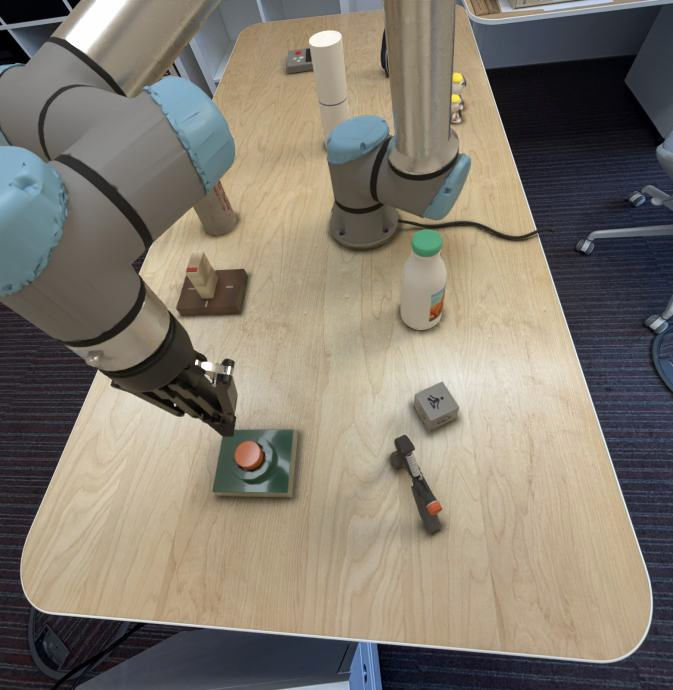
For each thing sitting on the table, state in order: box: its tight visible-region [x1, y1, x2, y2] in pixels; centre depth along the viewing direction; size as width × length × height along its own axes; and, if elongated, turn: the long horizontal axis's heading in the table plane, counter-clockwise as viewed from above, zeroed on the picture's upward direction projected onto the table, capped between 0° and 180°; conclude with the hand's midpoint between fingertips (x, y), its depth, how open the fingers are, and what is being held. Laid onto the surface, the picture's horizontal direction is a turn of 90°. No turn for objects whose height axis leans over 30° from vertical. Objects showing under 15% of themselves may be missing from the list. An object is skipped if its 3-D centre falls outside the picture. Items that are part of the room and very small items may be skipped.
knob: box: [185, 250, 218, 299], centre depth 83 cm, size 6×2×8 cm, turn 177°
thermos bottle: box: [192, 179, 237, 237], centre depth 88 cm, size 8×8×28 cm
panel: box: [175, 268, 248, 317], centre depth 87 cm, size 13×10×3 cm
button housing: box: [211, 429, 299, 498], centre depth 66 cm, size 12×10×5 cm
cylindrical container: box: [308, 30, 351, 150], centre depth 99 cm, size 7×7×25 cm
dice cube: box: [413, 381, 460, 432], centre depth 67 cm, size 5×5×5 cm
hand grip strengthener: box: [389, 434, 443, 536], centre depth 56 cm, size 2×12×15 cm, turn 24°
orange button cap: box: [235, 441, 264, 470], centre depth 63 cm, size 4×4×2 cm
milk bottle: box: [400, 228, 448, 331], centre depth 71 cm, size 8×8×20 cm
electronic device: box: [286, 47, 314, 75], centre depth 134 cm, size 10×2×15 cm
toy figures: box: [451, 72, 467, 124], centre depth 108 cm, size 12×4×8 cm, turn 169°
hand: (229, 426), depth 55 cm, fingers closed
